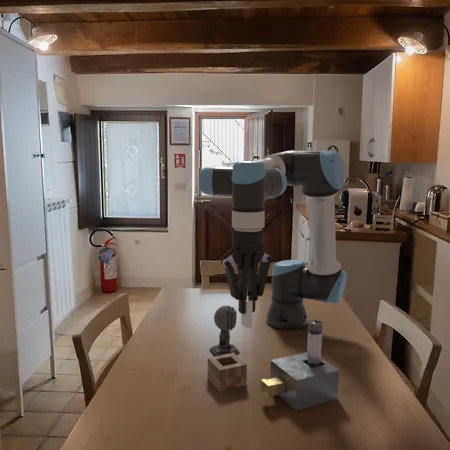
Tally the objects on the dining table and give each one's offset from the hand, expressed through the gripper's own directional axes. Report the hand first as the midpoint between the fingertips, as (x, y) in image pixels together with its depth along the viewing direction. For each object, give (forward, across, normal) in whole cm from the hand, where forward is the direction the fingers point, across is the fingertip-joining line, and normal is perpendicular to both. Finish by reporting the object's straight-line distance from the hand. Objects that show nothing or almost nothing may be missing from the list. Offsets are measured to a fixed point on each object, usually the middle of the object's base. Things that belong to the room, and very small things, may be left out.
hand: (246, 325), depth 110 cm
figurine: (+22, -9, -31) cm, 39 cm away
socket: (+22, -16, 0) cm, 27 cm away
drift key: (+19, -10, 0) cm, 22 cm away
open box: (+22, -1, -14) cm, 26 cm away
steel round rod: (+21, -20, 0) cm, 29 cm away
